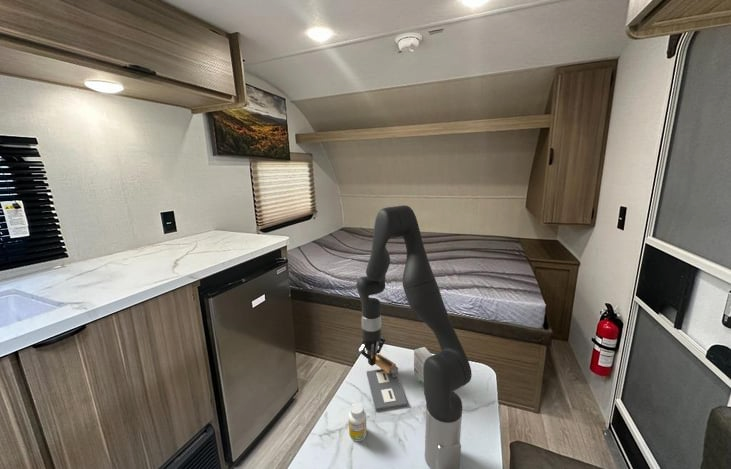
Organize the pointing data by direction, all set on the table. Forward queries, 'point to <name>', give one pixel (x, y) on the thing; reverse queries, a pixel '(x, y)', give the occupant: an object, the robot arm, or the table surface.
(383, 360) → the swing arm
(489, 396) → the table surface
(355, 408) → the supplement bottle
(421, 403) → the table surface
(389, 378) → the tray
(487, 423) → the table surface
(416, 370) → the ink box
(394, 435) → the table surface
